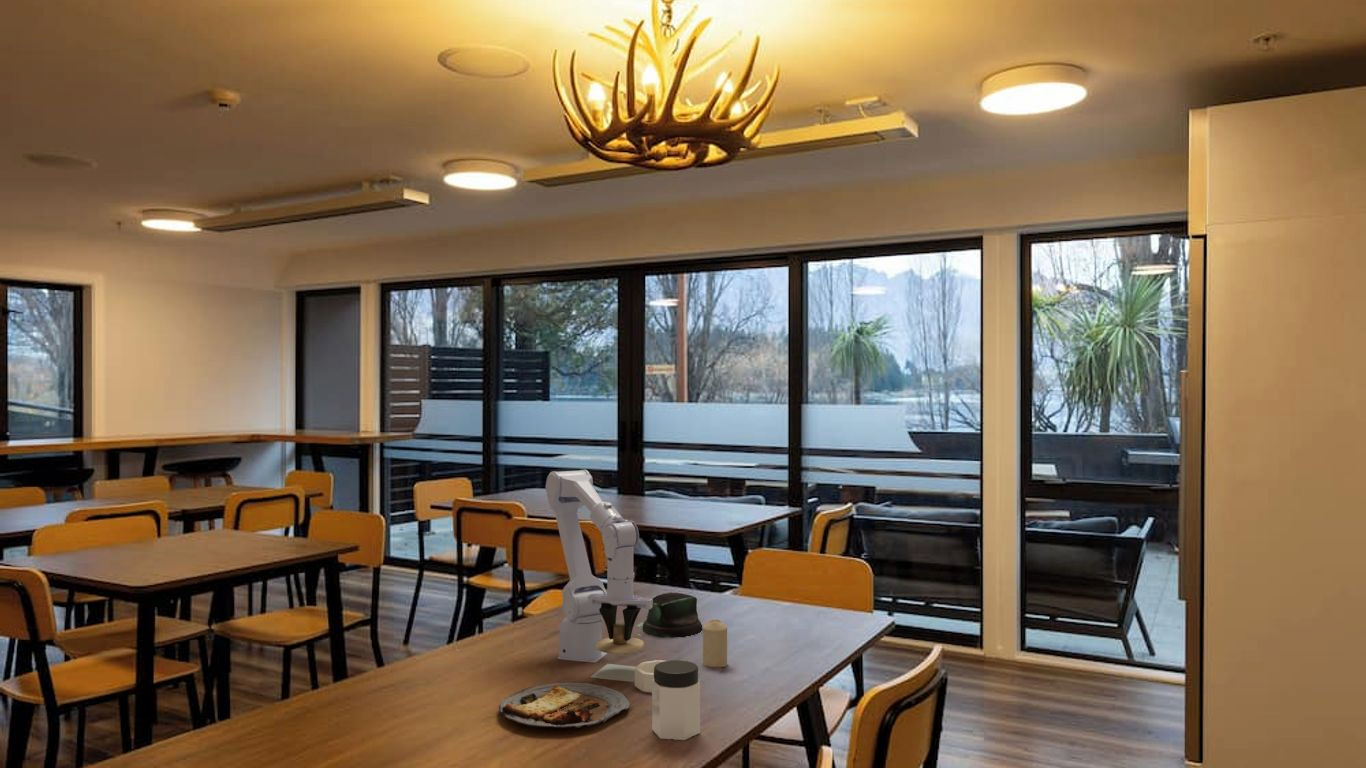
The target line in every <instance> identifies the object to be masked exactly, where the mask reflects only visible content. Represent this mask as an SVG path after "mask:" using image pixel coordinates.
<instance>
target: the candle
mask: <svg viewBox="0 0 1366 768" xmlns="http://www.w3.org/2000/svg"><path fill="white" fill-rule="evenodd" d="M702 629H703V631H702V664H703V666H705V667H711V668H720V667H721V668H722V667H723V668H725V667H727V666H728V626H726V625H725V623H723V622H722V621H721V620H720V619H711V620H707V622H706V623H705V624H704V625H702Z"/></svg>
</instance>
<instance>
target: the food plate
mask: <svg viewBox="0 0 1366 768" xmlns="http://www.w3.org/2000/svg"><path fill="white" fill-rule="evenodd" d="M582 696H589V697H587V698H583V699H580V698H581V697H582ZM594 698H595V699H598V700H601V701H603V702H605V703H606V704H607V705H605V707H606V713H605V714H604V715H603V716H602V717H599V718H598V719H597V720H593V721H592V720H591V719H592V716H593V715H594V712H593V711H590V710H592V709H595V708H597V707H601V705H600V702H598V701H596V700H595V699H594ZM578 699H580V700H578ZM576 700H578V701H576ZM574 701H576V702H575V703H573V702H574ZM572 703H573V704H572ZM569 704H571V705H570V706H568V705H569ZM630 705H631V704H630V701H629V699H628V698H627V697H626V696H625V695H624V694H623V693H622V692H620V691H618V690H616V689H614V688H613V687H612V688H610V687H608V686H604V685H599V684H598V685H597V684H594V683H593V684H591V683H588V682H587V683H581V682H579V683H578V682H560V683H559V682H557V683H556V682H555V683H549V684H548V683H547V684H543V685H538V686H529V687H526V688H523V689H521V690H519V691H516V692H515V693H513V694H511V695H509V696H508V697H506V698H504V699H502V700H501V701H500V703H499V705H498V711H499V715H501V716H502V717H503V718H504V719H506V720H510V721H512V722H515V723H518V724H522V725H524V726H526V727H528V726H529V727H534V728H554V729H564V728H565V729H568V728H571V729H572V730H574V729H579V728H581V727H582V726H586V727H590V726H593V725H598V724H600V723H603V724H604V723H605V722H606V721H607V720H609V719H610V718H613V716H615V715H617V714H619V713H620V712H622V710H628V709H629V707H630ZM566 706H567V711H564V710H563V709H565V708H564V707H566ZM568 707H569V708H568ZM562 708H563V709H562ZM560 709H562V710H563V711H560ZM559 711H560V712H559ZM555 712H557V713H555ZM552 713H553V714H552ZM590 720H591V721H590ZM537 721H541V722H537ZM542 721H543V722H542ZM544 722H545V723H548V724H545V723H544Z"/></svg>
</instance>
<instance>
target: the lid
mask: <svg viewBox="0 0 1366 768" xmlns="http://www.w3.org/2000/svg"><path fill="white" fill-rule="evenodd" d="M624 629H625V625H624V622H620V623H619V622H618V623H617V622H616V624H614V625H613V639H609V637H605V638H602V640H599V641H598V642H597V643H596V648H597V650H599V651H601V652H605V653H608V654H616V655H617V654H621V655H622V654H630V653H635V652H639V651H641V650H643V649H644V647H645V645H644V643H645V642H644V641H643V640H642V639H640V638H637V637H632V636H631V639H630V640H628V641H625V639H624Z"/></svg>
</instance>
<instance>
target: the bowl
mask: <svg viewBox="0 0 1366 768" xmlns="http://www.w3.org/2000/svg"><path fill="white" fill-rule="evenodd" d="M664 661H666V660H662V659H654V660H650V661H642V662H640V663H639V664H638V665H636V666H635V681H634V687H636V688H637V689H638V690H640V691H641V692H644V693H645V692H646V693H652V680H653V679H654V667H655V665H656V664H658V663H661V662H664Z"/></svg>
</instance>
